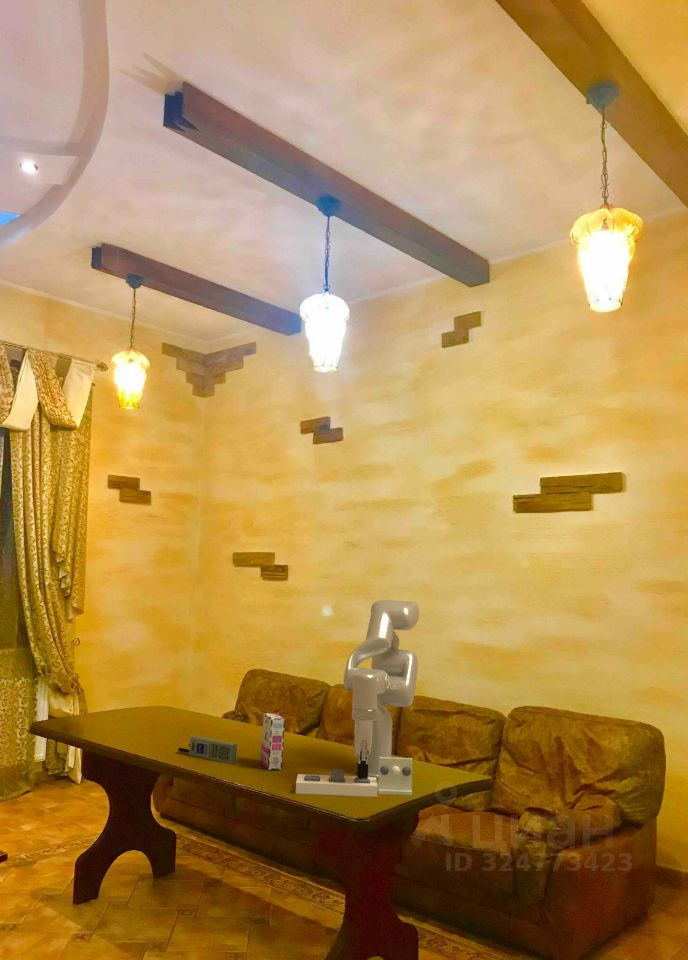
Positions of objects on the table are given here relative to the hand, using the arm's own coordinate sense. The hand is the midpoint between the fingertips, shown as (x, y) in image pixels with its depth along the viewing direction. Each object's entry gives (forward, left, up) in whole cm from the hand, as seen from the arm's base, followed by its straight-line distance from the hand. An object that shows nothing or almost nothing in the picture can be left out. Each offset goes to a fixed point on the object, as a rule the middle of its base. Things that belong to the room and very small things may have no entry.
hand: (362, 776), depth 216 cm
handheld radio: (+22, -59, -5) cm, 63 cm away
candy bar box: (+9, -38, -4) cm, 39 cm away
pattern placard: (-7, +6, -4) cm, 11 cm away
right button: (+1, 0, -4) cm, 4 cm away
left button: (+13, -9, -4) cm, 16 cm away
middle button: (+7, -4, -2) cm, 8 cm away
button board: (+7, -4, -4) cm, 9 cm away
